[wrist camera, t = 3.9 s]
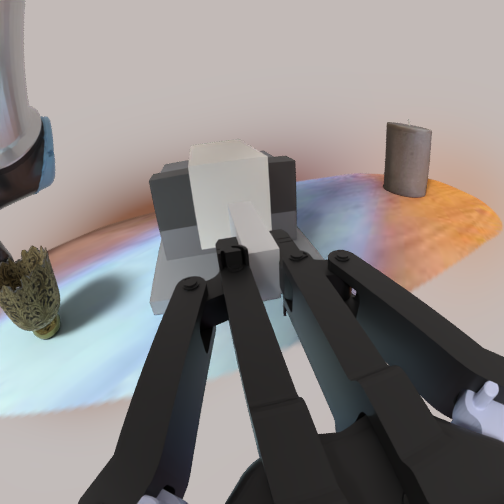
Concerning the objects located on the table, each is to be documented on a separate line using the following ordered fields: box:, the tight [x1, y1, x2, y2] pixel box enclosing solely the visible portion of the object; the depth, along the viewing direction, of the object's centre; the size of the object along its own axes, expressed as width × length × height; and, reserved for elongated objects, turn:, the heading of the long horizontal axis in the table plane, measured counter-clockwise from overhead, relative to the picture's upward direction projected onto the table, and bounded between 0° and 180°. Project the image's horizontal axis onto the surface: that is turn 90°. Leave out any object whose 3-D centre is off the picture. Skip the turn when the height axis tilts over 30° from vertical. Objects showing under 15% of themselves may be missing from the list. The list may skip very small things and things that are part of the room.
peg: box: [188, 139, 272, 250], centre depth 28 cm, size 14×6×7 cm, turn 11°
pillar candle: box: [383, 120, 432, 197], centre depth 46 cm, size 10×10×15 cm
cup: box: [0, 246, 60, 339], centre depth 20 cm, size 8×7×8 cm
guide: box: [149, 151, 324, 315], centre depth 33 cm, size 24×17×10 cm
